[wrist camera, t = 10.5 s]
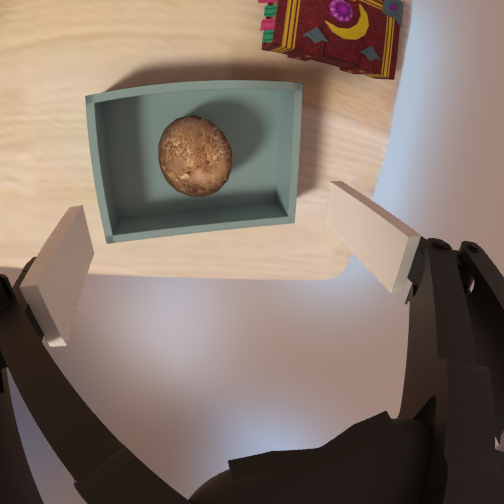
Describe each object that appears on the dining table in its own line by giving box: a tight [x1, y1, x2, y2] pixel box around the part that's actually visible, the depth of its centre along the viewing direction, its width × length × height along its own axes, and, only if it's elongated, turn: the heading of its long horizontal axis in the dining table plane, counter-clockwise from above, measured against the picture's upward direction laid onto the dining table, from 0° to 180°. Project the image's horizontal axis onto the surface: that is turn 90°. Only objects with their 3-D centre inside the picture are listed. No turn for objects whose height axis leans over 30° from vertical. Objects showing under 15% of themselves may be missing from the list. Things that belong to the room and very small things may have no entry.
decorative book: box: [258, 0, 403, 80], centre depth 23 cm, size 11×16×5 cm
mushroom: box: [158, 115, 232, 197], centre depth 27 cm, size 8×8×6 cm
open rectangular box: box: [85, 80, 303, 244], centre depth 28 cm, size 20×15×5 cm
